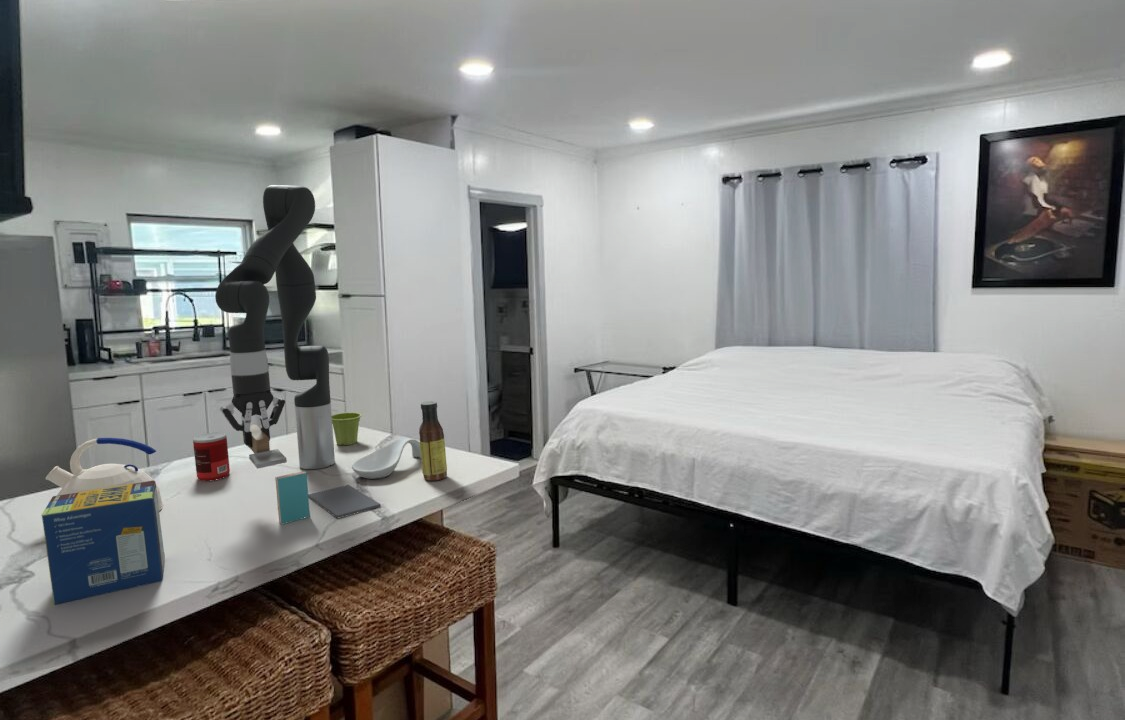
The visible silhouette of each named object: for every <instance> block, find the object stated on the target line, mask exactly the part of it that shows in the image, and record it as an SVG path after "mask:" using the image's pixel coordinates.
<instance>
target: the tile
mask: <svg viewBox="0 0 1125 720" xmlns="http://www.w3.org/2000/svg"><path fill="white" fill-rule="evenodd" d="M274 481H275V490H276V500H277V513H278V523H279V524H280V525H284V524H287V523H286V522H288V523H291V522H290V521H292V522H295V521H294V520H296V521H298V519H300V520H302V519H301V518H303V519H305V518H304V517H307V518H309V517H308V516H310V517H311V513H310V512H311V511H310V500H309V499H310V498H309V497H308V494H309V488H308V487H309V483H308V473H307V472H306V471H304V470H303V471H299V472H294V473H289V474H285V475H280V476H275V479H274ZM283 523H284V524H283Z"/></svg>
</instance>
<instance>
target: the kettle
mask: <svg viewBox="0 0 1125 720" xmlns="http://www.w3.org/2000/svg"><path fill="white" fill-rule="evenodd" d="M109 444H110V445H119V446H126V447H131V448H134V449H137V450H140V451H141V452H143V453H145V454H147V455H152V454H154V453H155V454H156V452H157V449H154V448H153V447H151V446H149V445H147V444H145V443H142V442H139V441H137V440H132V439H127V438H120V437H119V438H118V437H98V438H93V439H90V440H87V441H85V442H83V443H82V444H80V445H78V446H77V447H76V449H75V450H74V451H73V453H72V454H71V457H70V461H69V465H70V466H69V467H70V471H71V472H69V471H67V470H65V469H64V468H63V469H62V468H61V467H60V466H59V465H57V466H54V467H53V468H52V470H50V472H48V474H47V475H46V476H45V480H46V481H49V482H51V483H53V484H54V485H56V486H58V487H60V488H61V489H60V490H59V492H58V493H57V494H56V496H58V495H65V494H72V493H78V492H84V491H90V490H96V489H103V488H110V487H116V486H122V485H128V484H135V483H141V482H147V481H153V480H154V479H153V478H152V477H151V476H150V475H148V474H147V473H146V472H145V471H143V470H142V469H140V468H138V467H137V466H136V465H134V464H123V463H103V464H98V465H96V466H92V467H90V468H88V469H86V468H84V469H83V467H82V466H81V457H82V456H81V455H82V454H83V453H84V452H85V450H87V449H88V448H90V447H91V446H95V445H109ZM156 490H157V498H158V507H159V512H160V511H161V510H162V509H163V507H164V504H163V501H162V495H161V492H160V487H159V486H158V485H157V484H156Z"/></svg>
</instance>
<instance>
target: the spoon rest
mask: <svg viewBox="0 0 1125 720" xmlns="http://www.w3.org/2000/svg"><path fill="white" fill-rule="evenodd" d="M408 444H410V446H411V451H412V452H411V454H412V457H413V456H414V458H417V457H421V450H420V440H417V439H415V438H414V439H413V438H407V437H400V438H396V439H395V440H393V441H392V442H389V443H388V444H385V445H384V446H383V447H380V448H379V449H377V450H375V451H373V452H371V453H369V454H367V455H365V456H363V457H361V458H359V459H357V460H356V461H354V462H353V463H352V464H351V469H352V471H354V473H355V474H356V475H358V476H359V477H361V478H365V479H367V480H368V479H370V480H378V479H382V477H383V478H386V477H388V476H390V475H391V474H392V473H393V472H394V471H395V469H396V468H397V467H398V464H399V462H400V459H401V457H402V454H403V452H404V448H405V447H406V445H408ZM389 474H390V475H389ZM385 476H386V477H385ZM377 478H378V479H377Z"/></svg>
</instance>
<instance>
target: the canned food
mask: <svg viewBox="0 0 1125 720" xmlns="http://www.w3.org/2000/svg"><path fill="white" fill-rule="evenodd" d="M192 441H193V442H192V444H193V446H192V447H193V453H194V455H193V456H194V462H195V463H194V464H195V471H196V473H195V474H196V478H197V479H198V481H199V482H200V481H201V482H211V481H210V480H214V481H217V480H216V479H219V480H221V479H220V478H222V479H224V478H223V477H225V478H227V477H228V476H229V475H230V472H231V469H230V468H231V467H230V458H229V448H228V447H229V446H228V438H227V433H225V432H209V433H204V434H200V435H196V436H194V437H193V439H192ZM226 476H227V477H226Z"/></svg>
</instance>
